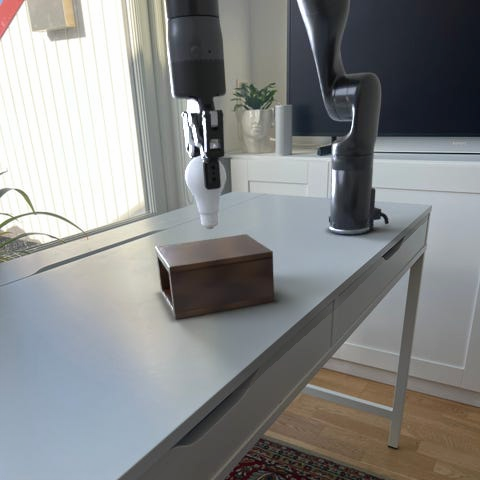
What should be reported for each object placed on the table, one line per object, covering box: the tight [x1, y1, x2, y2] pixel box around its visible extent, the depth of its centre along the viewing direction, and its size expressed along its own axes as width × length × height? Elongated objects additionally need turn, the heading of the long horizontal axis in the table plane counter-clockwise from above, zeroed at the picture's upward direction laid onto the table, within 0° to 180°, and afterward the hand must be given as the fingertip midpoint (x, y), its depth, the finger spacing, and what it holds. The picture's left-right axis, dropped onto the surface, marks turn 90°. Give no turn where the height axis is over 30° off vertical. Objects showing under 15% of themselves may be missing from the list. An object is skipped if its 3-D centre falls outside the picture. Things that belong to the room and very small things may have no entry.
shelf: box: [155, 233, 275, 320], centre depth 77 cm, size 16×12×8 cm
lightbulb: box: [184, 156, 227, 230], centre depth 72 cm, size 6×6×11 cm
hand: (206, 185), depth 72 cm, fingers closed on lightbulb, 6 cm apart
